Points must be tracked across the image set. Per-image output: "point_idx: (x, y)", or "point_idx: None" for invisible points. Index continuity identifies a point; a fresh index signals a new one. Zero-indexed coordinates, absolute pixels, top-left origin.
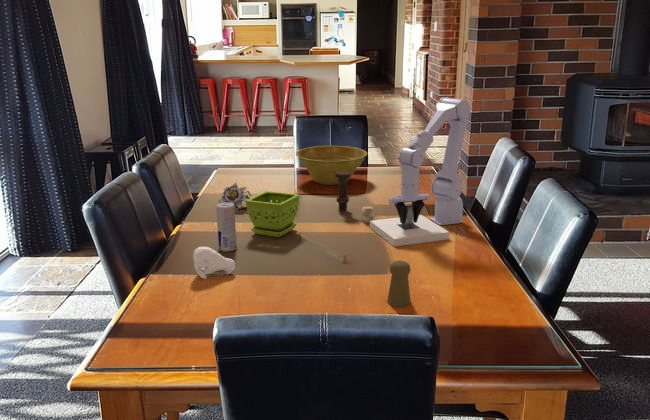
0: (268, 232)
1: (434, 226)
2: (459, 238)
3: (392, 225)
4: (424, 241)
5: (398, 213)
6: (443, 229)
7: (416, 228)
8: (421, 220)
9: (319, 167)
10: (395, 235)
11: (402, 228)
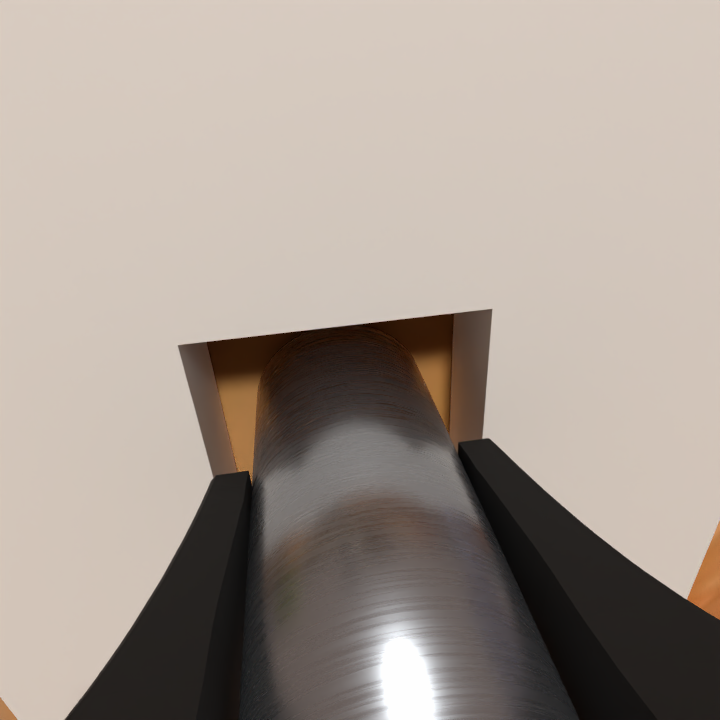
0: None
1: (667, 499)
2: (717, 566)
3: (84, 374)
4: None
5: (136, 621)
6: (679, 583)
7: (467, 406)
8: (705, 230)
9: None
10: (69, 684)
11: (256, 415)
